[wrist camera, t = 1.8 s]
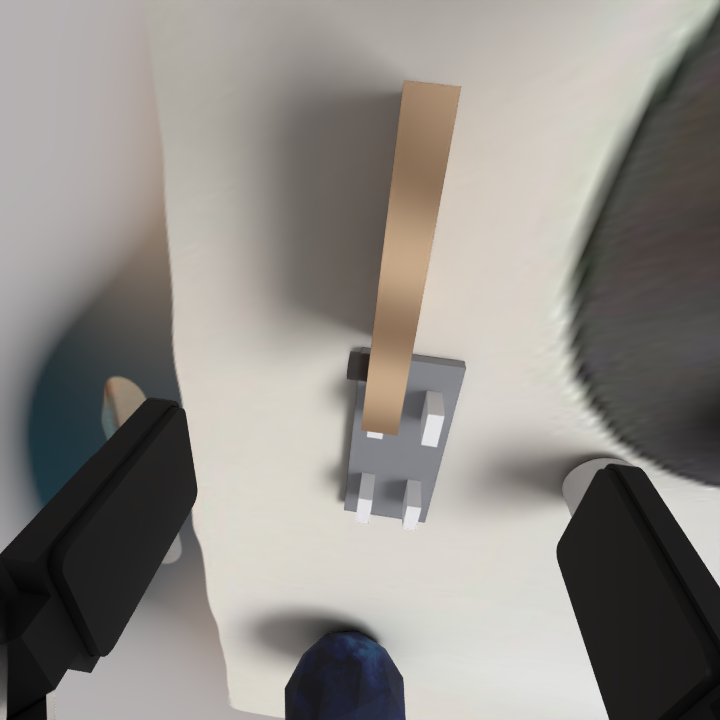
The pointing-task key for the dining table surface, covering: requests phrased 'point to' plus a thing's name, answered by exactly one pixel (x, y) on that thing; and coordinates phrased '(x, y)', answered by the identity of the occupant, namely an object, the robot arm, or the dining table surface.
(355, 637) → the decorative orb
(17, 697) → the robot arm
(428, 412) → the hinge base
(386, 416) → the door panel
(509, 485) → the dining table surface
